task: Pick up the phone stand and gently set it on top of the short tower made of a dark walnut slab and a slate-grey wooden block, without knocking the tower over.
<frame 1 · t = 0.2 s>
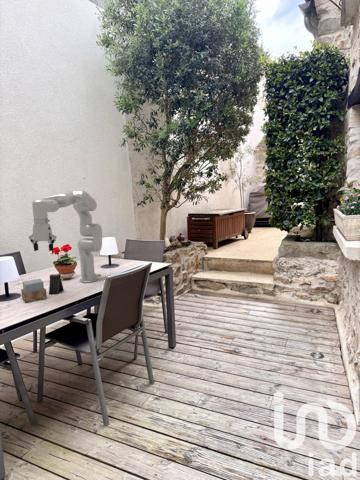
hand: (43, 250, 176), 31 cm above the table, tool pointing down, fingers open, 9 cm apart
top block: (33, 289, 185), point 6 cm above the table
base block: (34, 298, 185), on the table
phone stand: (56, 292, 197), on the table
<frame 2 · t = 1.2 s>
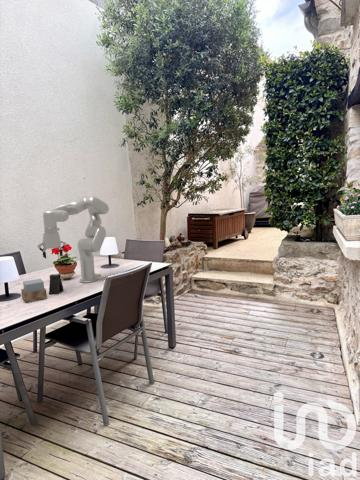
hand: (53, 256, 193), 24 cm above the table, tool pointing down, fingers open, 9 cm apart
nothing on the table moved.
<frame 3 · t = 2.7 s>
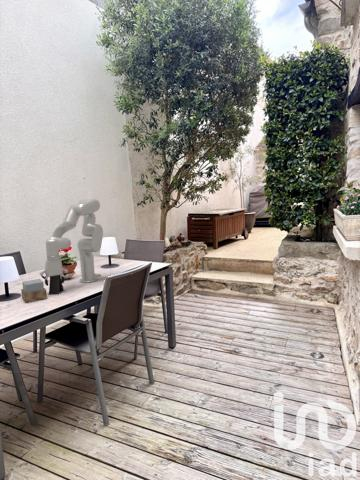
hand: (55, 284, 195), 6 cm above the table, tool pointing down, fingers open, 9 cm apart
nothing on the table moved.
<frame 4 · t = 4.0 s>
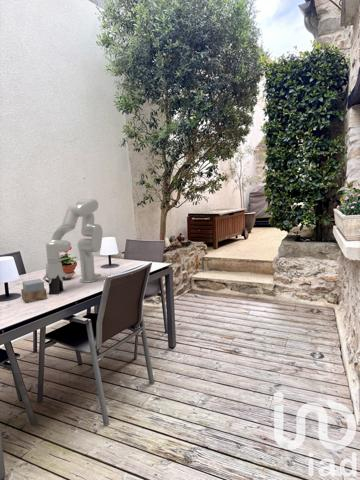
hand: (56, 287, 196), 3 cm above the table, tool pointing down, fingers closed on phone stand, 5 cm apart
top block: (33, 289, 184), point 6 cm above the table, touching base block
base block: (34, 299, 185), on the table, touching top block
phone stand: (56, 292, 197), on the table, touching gripper
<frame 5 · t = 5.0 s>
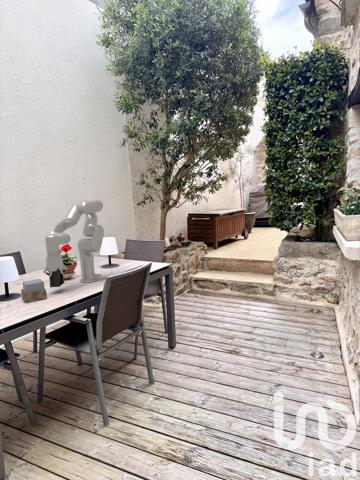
hand: (56, 280, 196), 8 cm above the table, tool pointing down, fingers closed on phone stand, 5 cm apart
phone stand: (57, 285, 197), point 4 cm above the table, touching gripper
everything else where it was.
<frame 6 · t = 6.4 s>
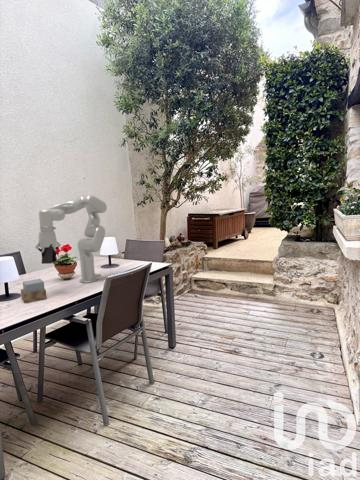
hand: (49, 257, 191), 24 cm above the table, tool pointing down, fingers closed on phone stand, 5 cm apart
top block: (33, 289, 185), point 6 cm above the table
base block: (34, 299, 185), on the table
phone stand: (49, 262, 191), point 20 cm above the table, touching gripper
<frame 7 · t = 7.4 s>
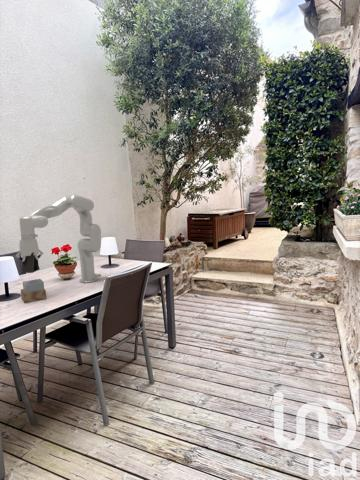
hand: (30, 266, 182), 20 cm above the table, tool pointing down, fingers closed on phone stand, 5 cm apart
phone stand: (31, 271, 183), point 17 cm above the table, touching gripper
everything else where it was.
when the fingers open (15 cm above the table, at t = 8.9 s): phone stand drops 1 cm, resting on top block.
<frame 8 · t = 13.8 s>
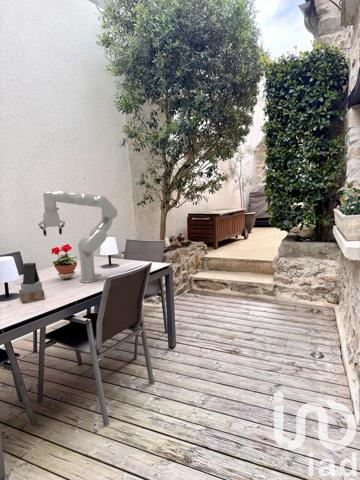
hand: (53, 235, 205), 36 cm above the table, tool pointing down, fingers open, 9 cm apart
top block: (31, 290, 184), point 5 cm above the table, touching base block, phone stand
base block: (32, 299, 184), on the table, touching top block
phone stand: (31, 282, 183), point 10 cm above the table, touching top block
at the end: phone stand inside the target area on the top block (0.4 cm from its centre), point 4.8 cm above the top block's base; top block point 5.4 cm above the table; the gripper is holding nothing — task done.
